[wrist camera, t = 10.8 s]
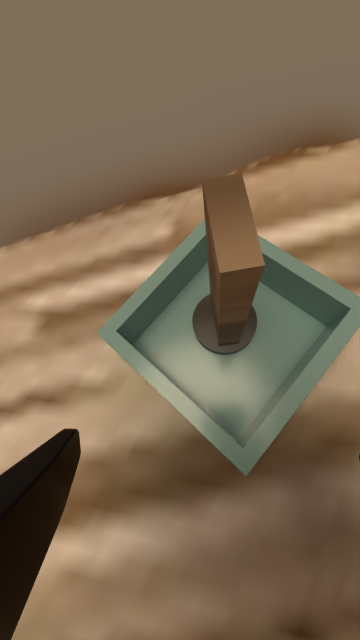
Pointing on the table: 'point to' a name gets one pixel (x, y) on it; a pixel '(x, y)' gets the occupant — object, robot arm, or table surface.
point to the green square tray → (245, 365)
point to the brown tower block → (229, 268)
